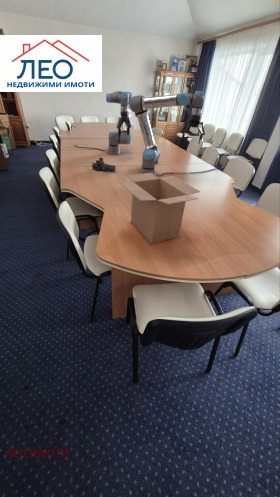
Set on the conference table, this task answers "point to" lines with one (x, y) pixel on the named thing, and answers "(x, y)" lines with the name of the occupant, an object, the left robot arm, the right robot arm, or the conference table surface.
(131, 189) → the box
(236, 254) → the conference table surface
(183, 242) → the conference table surface
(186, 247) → the conference table surface
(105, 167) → the laser sight
